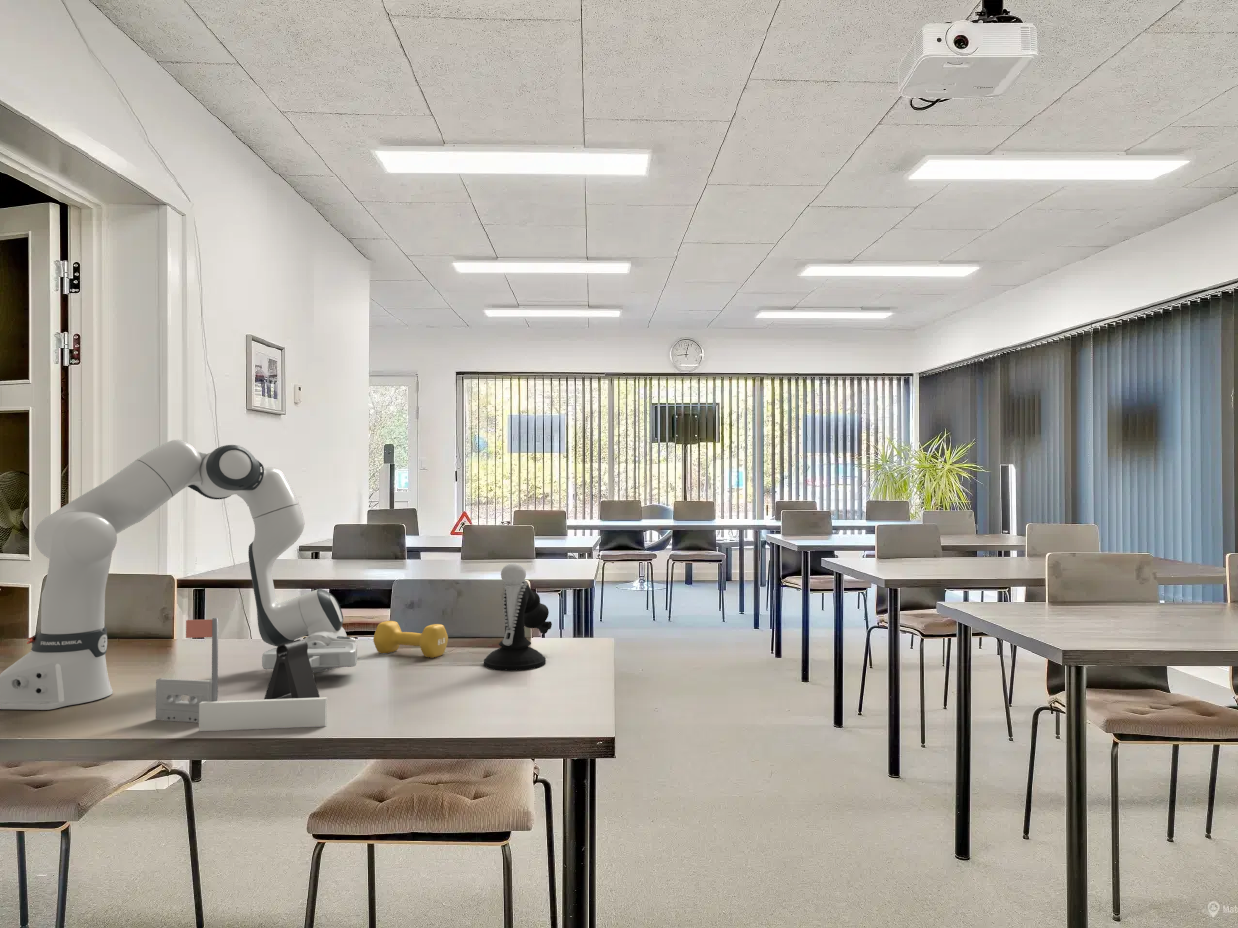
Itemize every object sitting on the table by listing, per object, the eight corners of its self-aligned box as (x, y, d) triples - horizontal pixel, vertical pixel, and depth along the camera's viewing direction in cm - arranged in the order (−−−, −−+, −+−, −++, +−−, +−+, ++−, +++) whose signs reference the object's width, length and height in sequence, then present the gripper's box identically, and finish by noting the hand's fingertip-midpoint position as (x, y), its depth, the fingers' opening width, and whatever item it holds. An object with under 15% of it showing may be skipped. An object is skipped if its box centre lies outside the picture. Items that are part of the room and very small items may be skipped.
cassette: (216, 720, 152) (217, 679, 153) (209, 723, 151) (210, 682, 151) (160, 717, 155) (161, 677, 155) (153, 720, 153) (153, 679, 153)
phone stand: (319, 698, 168) (320, 640, 168) (300, 705, 162) (300, 645, 163) (284, 694, 171) (284, 637, 171) (263, 702, 165) (264, 643, 166)
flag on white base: (181, 731, 145) (182, 620, 146) (209, 710, 159) (210, 608, 159) (325, 726, 149) (326, 617, 149) (341, 705, 162) (341, 606, 163)
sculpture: (471, 667, 196) (472, 564, 196) (520, 648, 218) (520, 556, 218) (527, 673, 190) (527, 566, 191) (571, 653, 212) (571, 558, 212)
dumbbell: (451, 653, 212) (451, 622, 212) (431, 660, 204) (431, 628, 204) (391, 648, 219) (391, 618, 219) (369, 655, 211) (370, 623, 211)
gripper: (271, 639, 188) (252, 651, 174) (362, 637, 191) (350, 649, 177) (271, 666, 188) (252, 681, 174) (362, 664, 191) (350, 678, 177)
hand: (302, 665), depth 176 cm, fingers closed
